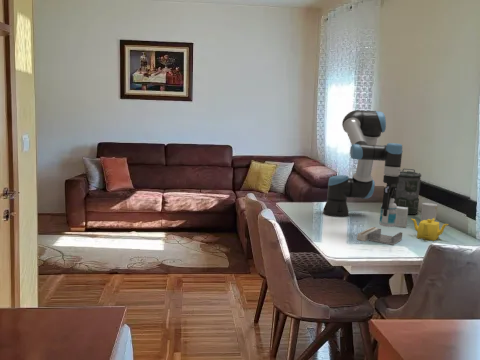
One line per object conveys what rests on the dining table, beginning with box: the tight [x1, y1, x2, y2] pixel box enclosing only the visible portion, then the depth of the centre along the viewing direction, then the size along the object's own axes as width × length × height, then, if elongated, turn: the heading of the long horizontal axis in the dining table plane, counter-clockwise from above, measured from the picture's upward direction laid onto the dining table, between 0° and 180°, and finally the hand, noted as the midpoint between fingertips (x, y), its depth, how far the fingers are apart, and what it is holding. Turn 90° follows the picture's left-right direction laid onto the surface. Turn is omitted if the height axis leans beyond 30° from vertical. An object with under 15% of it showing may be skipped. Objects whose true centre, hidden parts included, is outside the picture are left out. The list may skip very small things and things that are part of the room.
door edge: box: [356, 226, 380, 242], centre depth 271 cm, size 4×20×3 cm, turn 147°
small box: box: [394, 206, 409, 228], centre depth 301 cm, size 8×6×10 cm
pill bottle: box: [379, 198, 397, 228], centre depth 265 cm, size 8×7×14 cm
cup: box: [420, 202, 438, 222], centre depth 308 cm, size 8×8×12 cm
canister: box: [395, 167, 422, 215], centre depth 341 cm, size 16×16×28 cm
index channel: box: [368, 228, 403, 246], centre depth 266 cm, size 12×14×4 cm
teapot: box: [411, 218, 450, 242], centre depth 276 cm, size 15×14×10 cm
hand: (387, 221), depth 265 cm, fingers closed on pill bottle, 7 cm apart
